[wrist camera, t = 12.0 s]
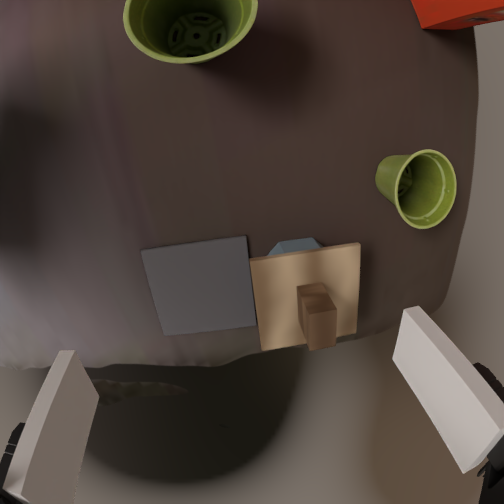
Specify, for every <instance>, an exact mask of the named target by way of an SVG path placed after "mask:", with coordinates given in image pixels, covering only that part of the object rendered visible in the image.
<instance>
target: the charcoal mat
mask: <svg viewBox="0 0 504 504" xmlns="http://www.w3.org/2000/svg"><path fill="white" fill-rule="evenodd" d="M140 252H141V256H142V260H143V264H144V268H145V271H146V275H147V279H148V283H149V286H150V290H151V293H152V297H153V300H154V304H155V307H156V311H157V314H158V317H159V321H160V324H161V327H162V330H163V333H164V336H169V335H180V334H190V333H199V332H209V331H217V330H226V329H234V328H241V327H249V326H256V317H255V308H254V300H253V291H252V283H251V275H250V266H249V258H248V249H247V241H246V235H243V236H235V237H228V238H220V239H213V240H205V241H198V242H190V243H183V244H176V245H169V246H162V247H155V248H148V249H141V251H140Z"/></svg>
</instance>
